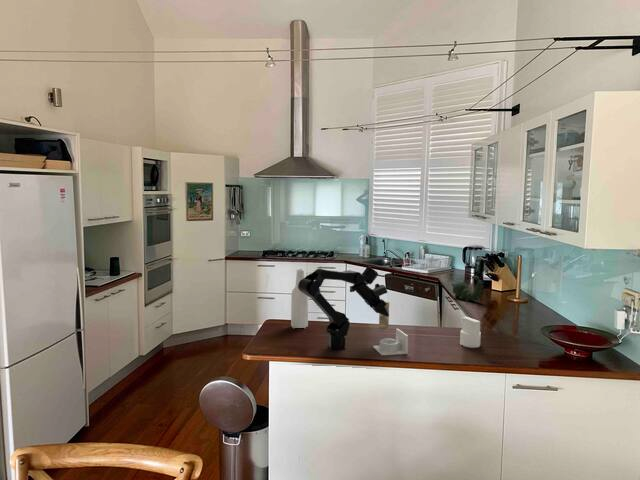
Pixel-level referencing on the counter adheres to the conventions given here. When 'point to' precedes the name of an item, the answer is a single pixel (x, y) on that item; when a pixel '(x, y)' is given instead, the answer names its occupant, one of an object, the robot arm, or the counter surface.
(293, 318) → the alcohol
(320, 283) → the robot arm
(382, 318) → the maple rail post
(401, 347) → the cup bracket
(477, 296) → the toy figurine
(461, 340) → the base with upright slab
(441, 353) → the counter surface
